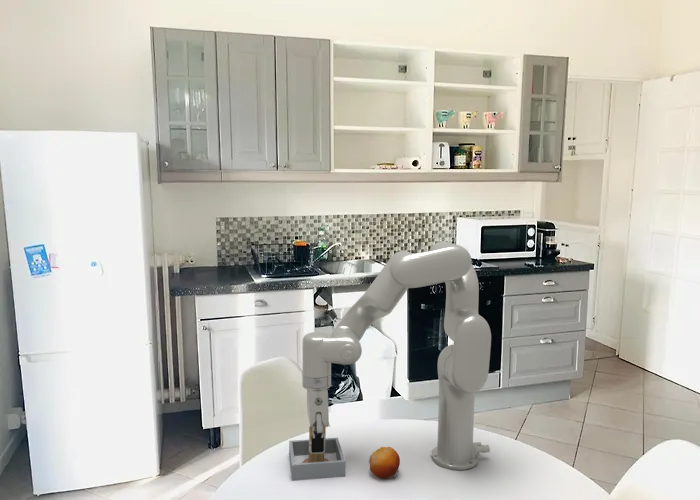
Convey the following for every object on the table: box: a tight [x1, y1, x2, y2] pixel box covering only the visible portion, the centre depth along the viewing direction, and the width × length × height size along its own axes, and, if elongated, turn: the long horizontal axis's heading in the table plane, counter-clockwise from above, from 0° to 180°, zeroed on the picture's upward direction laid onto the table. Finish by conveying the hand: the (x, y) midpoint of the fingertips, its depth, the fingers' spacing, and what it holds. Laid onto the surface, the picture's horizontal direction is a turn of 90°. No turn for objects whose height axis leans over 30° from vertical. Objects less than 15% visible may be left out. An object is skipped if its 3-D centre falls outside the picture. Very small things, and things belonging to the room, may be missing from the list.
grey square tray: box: [288, 437, 346, 481], centre depth 139 cm, size 14×14×4 cm
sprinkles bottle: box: [308, 423, 327, 463], centre depth 139 cm, size 5×5×13 cm
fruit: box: [368, 446, 401, 480], centre depth 135 cm, size 8×8×8 cm
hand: (316, 445), depth 139 cm, fingers open, 5 cm apart
